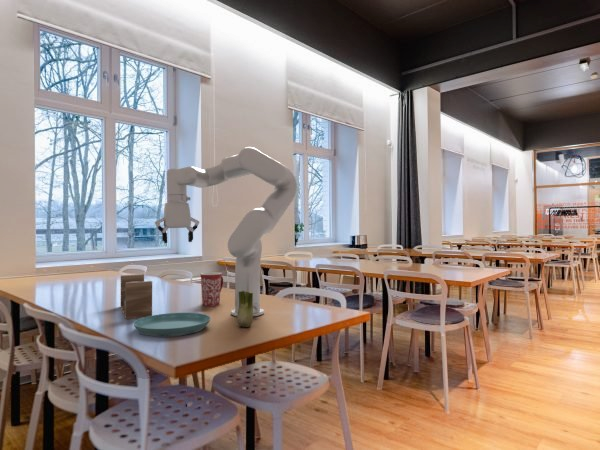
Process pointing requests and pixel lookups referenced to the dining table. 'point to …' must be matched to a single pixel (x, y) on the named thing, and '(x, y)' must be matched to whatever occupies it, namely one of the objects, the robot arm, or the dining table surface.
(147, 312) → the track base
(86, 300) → the dining table surface
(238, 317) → the fennel bulb
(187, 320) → the teal plate
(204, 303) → the mug
